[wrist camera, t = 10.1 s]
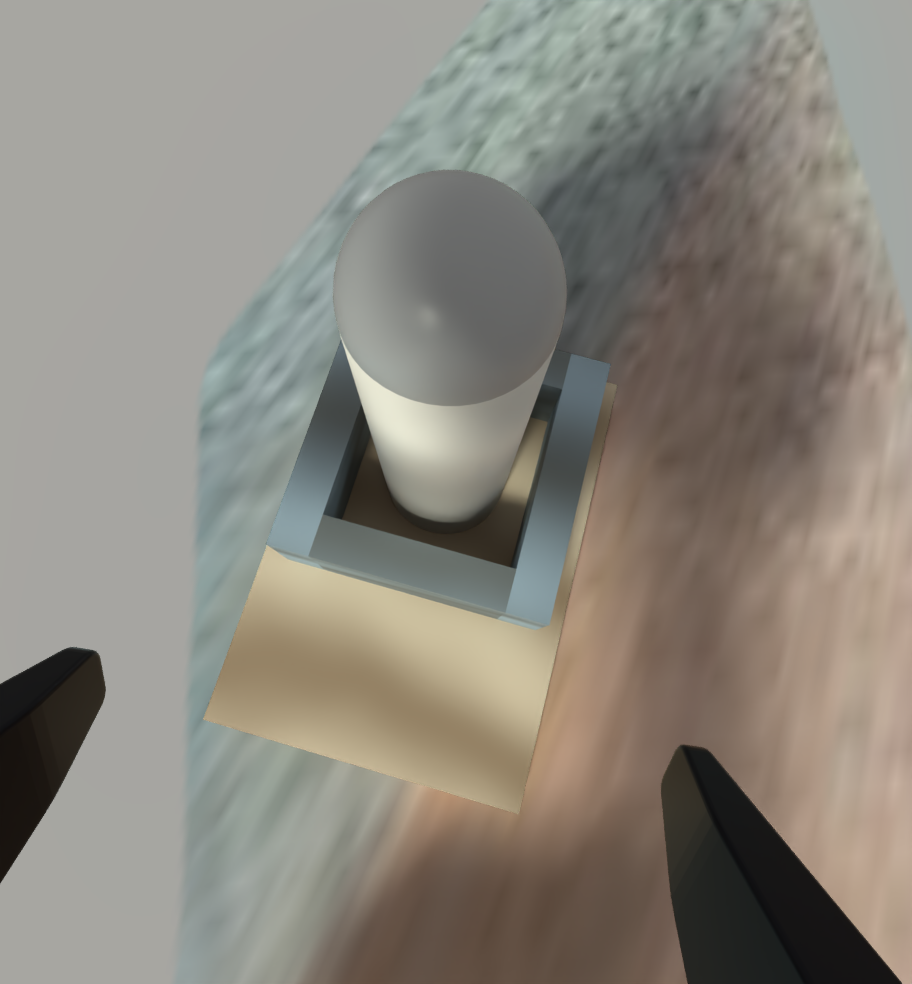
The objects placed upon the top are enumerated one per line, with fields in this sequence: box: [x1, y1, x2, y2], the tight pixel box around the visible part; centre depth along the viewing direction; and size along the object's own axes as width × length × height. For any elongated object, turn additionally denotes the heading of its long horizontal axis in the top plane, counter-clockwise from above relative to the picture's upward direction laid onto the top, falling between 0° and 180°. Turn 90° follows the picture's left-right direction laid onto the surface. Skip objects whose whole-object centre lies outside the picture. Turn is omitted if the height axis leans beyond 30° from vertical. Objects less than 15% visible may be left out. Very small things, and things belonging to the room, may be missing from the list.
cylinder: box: [333, 170, 567, 534], centre depth 17 cm, size 4×4×14 cm
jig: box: [203, 339, 617, 814], centre depth 22 cm, size 16×11×4 cm
